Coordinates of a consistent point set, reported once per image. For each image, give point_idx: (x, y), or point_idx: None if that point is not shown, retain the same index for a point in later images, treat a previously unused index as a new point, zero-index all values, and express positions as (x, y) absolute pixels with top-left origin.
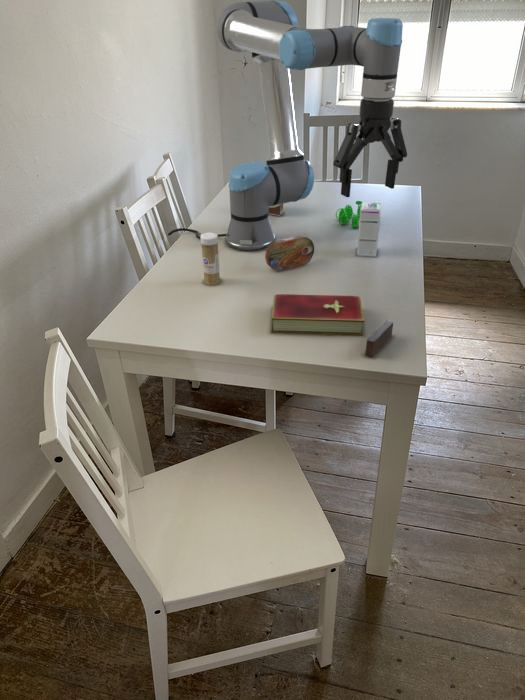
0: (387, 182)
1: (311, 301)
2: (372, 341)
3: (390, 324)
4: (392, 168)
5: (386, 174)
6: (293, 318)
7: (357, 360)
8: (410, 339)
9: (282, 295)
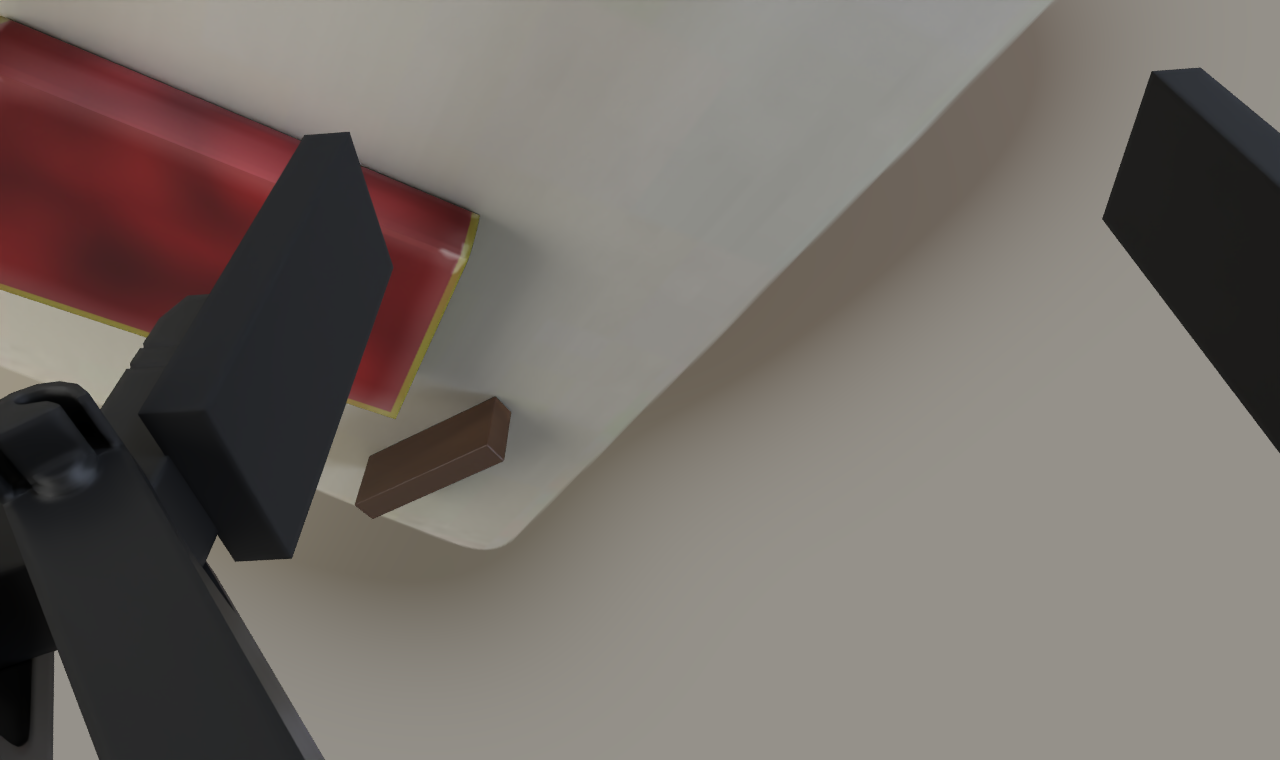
0: (1165, 152)
1: (187, 214)
2: (369, 516)
3: (484, 468)
4: (1270, 371)
5: (1246, 167)
6: (73, 311)
7: (333, 465)
8: (570, 440)
9: (10, 91)
